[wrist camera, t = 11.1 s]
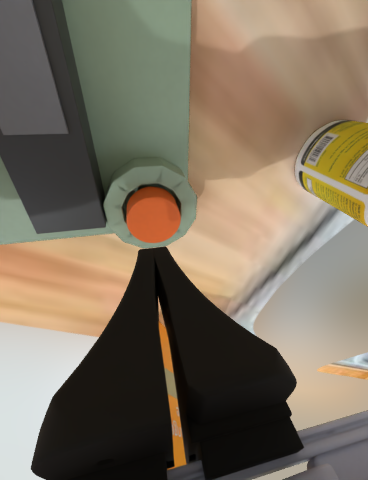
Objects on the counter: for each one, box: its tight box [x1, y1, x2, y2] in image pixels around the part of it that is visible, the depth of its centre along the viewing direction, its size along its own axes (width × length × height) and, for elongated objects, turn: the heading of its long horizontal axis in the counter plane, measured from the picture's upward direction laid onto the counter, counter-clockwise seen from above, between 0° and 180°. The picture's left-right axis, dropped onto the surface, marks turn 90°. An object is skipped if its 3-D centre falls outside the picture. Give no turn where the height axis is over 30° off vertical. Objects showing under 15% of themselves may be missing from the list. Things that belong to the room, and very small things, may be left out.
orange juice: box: [159, 322, 186, 470], centre depth 23 cm, size 8×9×20 cm
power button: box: [126, 186, 181, 243], centre depth 15 cm, size 4×4×2 cm
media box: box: [0, 0, 197, 248], centre depth 14 cm, size 16×14×4 cm
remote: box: [0, 0, 107, 234], centre depth 12 cm, size 13×4×3 cm, turn 179°
